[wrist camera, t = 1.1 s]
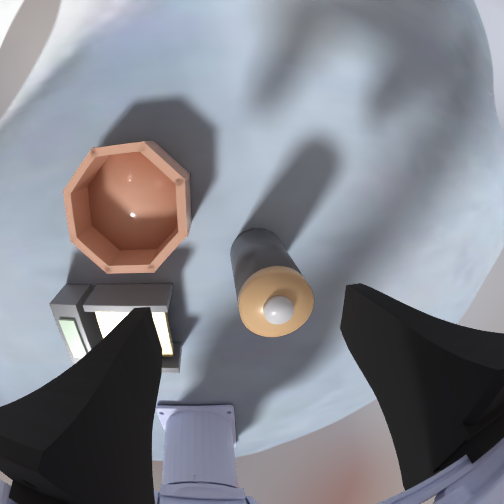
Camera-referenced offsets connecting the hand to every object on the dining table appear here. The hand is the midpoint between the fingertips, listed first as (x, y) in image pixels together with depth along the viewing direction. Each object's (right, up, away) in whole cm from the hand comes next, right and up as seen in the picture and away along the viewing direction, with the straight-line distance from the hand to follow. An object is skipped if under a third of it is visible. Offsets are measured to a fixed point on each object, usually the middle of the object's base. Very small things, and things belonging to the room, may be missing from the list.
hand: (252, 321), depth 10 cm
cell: (0, +2, +9) cm, 10 cm away
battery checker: (-10, -3, +10) cm, 14 cm away
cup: (-8, +6, +7) cm, 12 cm away
